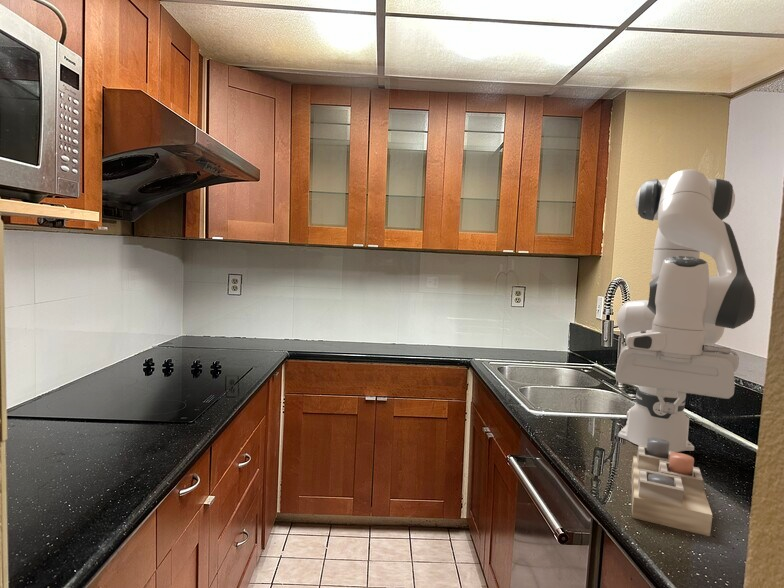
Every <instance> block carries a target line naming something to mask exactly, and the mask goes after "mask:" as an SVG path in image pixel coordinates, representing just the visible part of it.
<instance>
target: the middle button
mask: <svg viewBox="0 0 784 588" xmlns="http://www.w3.org/2000/svg"><path fill="white" fill-rule="evenodd" d="M694 463H695V458H694V457H693V456H692V455H689V454H687V453H686V454H685V453H682V452H674V453H670V458H669V467H668V469H669V470H670V471H672V472H674V473H679V474H684V475H692V474H693V467H695V466H694Z"/></svg>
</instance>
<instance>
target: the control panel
mask: <svg viewBox="0 0 784 588" xmlns="http://www.w3.org/2000/svg"><path fill="white" fill-rule="evenodd" d="M637 446H638V447H637V455H632V465H631V518H632V519H635V520H641V521H645V522H649V523H653V524H657V525H662V526H665V527H669V528H674V529H677V530H682V531H687V532H691V533H695V534H697V535H698V534H699V535H703V536H706V537H707V536H708V537H710V536H711V530H712V522H713V513H712V509H711V506H710V503H709V500H708V497H707V495H706V492H705V491H706V490H705V488H704V479H703V476H702V473H701V469H700V467H696V466H693V474H692V475H684V474H679V473H674V472H672V471H670V470H669V469H668V467H669V458H670V453H674V452H673V451H669V453H668V457H667V458H660V457H655V456H651V455H649V454H647V453H646V448H647V446H642V445H637ZM649 474H660V475H664V476H667V477H669V478H671V479H672V480H673V481H674V482H673V486H669V485H664V484H660V483H655V482H650V481H648V475H649Z"/></svg>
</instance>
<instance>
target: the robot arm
mask: <svg viewBox="0 0 784 588" xmlns="http://www.w3.org/2000/svg"><path fill="white" fill-rule="evenodd" d="M735 203H736V195H735V190H734V188H733V184H732V183H731V182H730V181H729V180H726V179H722V178H715V179H711V178H707V176H706V175H705V174H704V173H702V172H701V171H698V170H697V169H692V168H689V169H681V170H678V171H676V172H674V173H673V174H671V175H670V176H669V177H668V178H666V179H658V178H654V179H649V180H646V181H644V182H643V183H642V184H641V185H640V187H639V189H638V191H637V193H636V195H635V202H634V204H635V208H636V211H637V215H638V216H639V217H640V218H641V219H643V220H647V221H652V222H653V221H654V220H655V221H657V224H658V228H657V229H656V234H655V240H654V246H653V254H652V262H651V274H650V275H651V279H652V280H651V281H650V282H649V294H648V295H649V296H648V299H638V300H628V301H626V302H624V303H623V304H621V306H620V307H619V310H618V311H617V315H616V324H617V327H618V330H620V333H621V334H623V336H625V344H626V345H625V346H623V348H622V349H621V350H620V352H619V357H618V359H617V363H616V369H615V374H614V375H615V376H614V378H615V380H616V381H617V383H620V384H624V385H625V384H626V385H630V386H631V385H632V386H638V388H637V390H636V393H635V404H634V405H632V406H631V408H629V409H628V410H627V412H626V419H627V420H626V422H625V425H624V426H623V428H622V429H621V430H620V431H618V434H617V437H618V438H621V439H624V440H626V441H629V442H630V443H632V444H635V445H637V446H638V445H642V446H647V439H648V438H659V439H663V440H666V441H668V442H669V443H670V444H669V451H673V452H676V453H682V452H685V451H689V452H691V451H692V452H693V451H695V445H693V444H692V442H690V441H689V429H690V419H689V418H688V416H687V415H686V414H685V412H684V410H685V405H686V399H687V394H691V395H698V396H704V397H705V396H706V397H712V398H718V399H725V400H726V399H727V400H729V399H731V398H732V397H733V396H734V394H735V387H736V386H735V384H736V383H735V372H736V371H737V370H738V369H739V363H740V357H739V355H738V353H736V352H735V351H733V350H732V349H731V348H728V347H726V346H725V347H720V346H719V347H718V346H714V345H715V344H716V343H718V342H719V340H721V338H722V337H723V334H724V332H725V328H727V329H731V330H734V329H736V328H738V327H741V326H742V325H745V324H746V323H748V322H749V321H750V320H751V319H752V318H753V316H754V314H755V310H756V295H755V292H754V288H753V285H752V283H751V281H750V279H749V277H748V275H747V272H746V269H745V266H744V262H743V260H742V256H741V255H742V254H741V252H740V249H739V246H738V242H737V239H736V235H735V233H734V231H733V229H732V227H731V225H730V224H729V223H728V222H726V221H724V220H725V219H726V218H728V217H729V216H730V213H731V212H732V210H733V208H734V206H735ZM701 253H703V254H706V255H708V256H709V257H711V258H712V259H714V261H715V264H716V269H717V271H718V275H717V276H713V275H710V272H709V271H710V270H709V264H708V262H707V261H706V260H704V259H702V258H700V255H701Z"/></svg>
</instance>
